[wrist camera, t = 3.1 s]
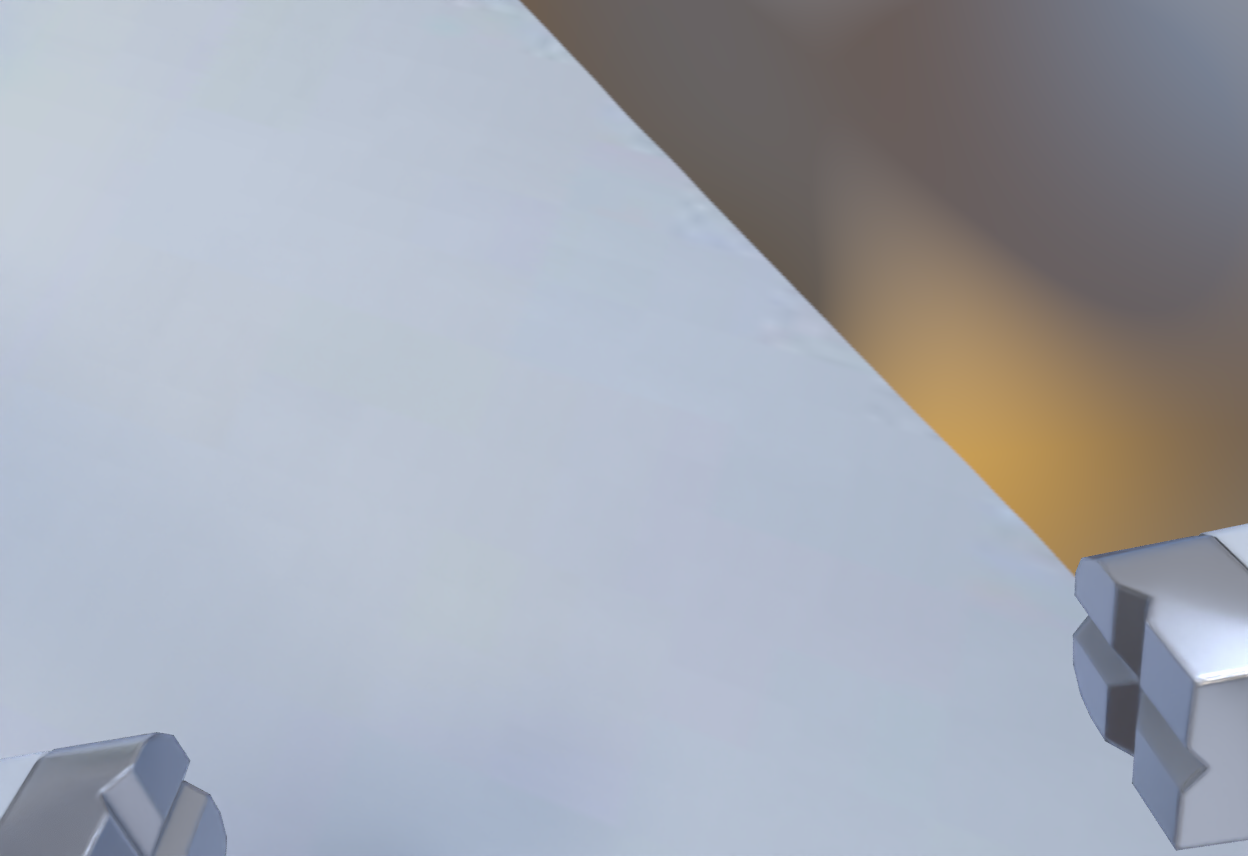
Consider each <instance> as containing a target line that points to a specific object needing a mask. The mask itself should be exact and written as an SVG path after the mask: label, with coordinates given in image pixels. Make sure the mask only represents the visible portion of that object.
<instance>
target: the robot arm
mask: <svg viewBox="0 0 1248 856" xmlns="http://www.w3.org/2000/svg"><path fill="white" fill-rule="evenodd" d="M1074 595H1075V597H1076V598H1077V599H1078V601H1079V602H1080V604H1081V605H1082V606H1083V608H1084V609H1085V611H1086V612H1087V613H1088V616H1087V618H1086V619H1085V620H1084V621H1083V623H1082V624H1081V625H1080V626H1079V628H1078V629H1077V630H1076V631H1075V633H1074V634H1073V666H1074V670H1075V674H1076V678H1077V682H1078V686H1079V691H1080V695H1081V697H1082V699H1083V701H1084V704H1085V706H1086V708H1087V710H1088V713H1089V715H1090V717H1091V719H1092V721H1093V722H1094V724H1095V725H1096V727H1097V729H1098V730H1099V732H1100V733H1101V735H1102V737H1103V738H1104V740H1105V741H1106V742H1108V743H1110V744H1111V745H1113V746H1115V747H1117V748H1119V749H1121V750H1122V751H1124V752H1126V753H1128V754H1130V755H1132V756H1133V757H1134V763H1133V778H1132V784H1133V785H1134V787H1135V788H1136V790H1137V791H1138V793H1139V794H1140V796H1141V798H1142V799H1143V801H1144V802H1145V804H1146V805H1147V807H1148V808H1149V810H1150V811H1151V813H1152V814H1153V816H1154V818H1155V819H1156V821H1157V822H1158V824H1159V825H1160V827H1161V828H1162V830H1163V831H1164V833H1165V834H1166V836H1167V837H1168V839H1169V841H1170V842H1171V844H1172V845H1173V847H1174V848H1175V850H1183V849H1190V848H1197V847H1203V846H1210V845H1217V844H1224V843H1231V842H1238V841H1245V840H1248V524H1244V525H1239V526H1234V527H1229V528H1225V529H1220V530H1215V531H1210V532H1205V533H1201V534H1200V535H1199V536H1191V537H1186V538H1181V539H1176V540H1171V541H1165V542H1160V543H1155V544H1150V545H1145V546H1140V547H1135V548H1130V549H1125V550H1119V551H1114V552H1109V553H1104V554H1099V555H1094V556H1089V557H1084V558H1081V561H1080V563H1079V565H1078V568H1077V570H1076V574H1075V593H1074ZM189 763H190V759H189V758H188V756H187V755H186V753H185V752H184V750H183V749H182V747H181V746H180V744H179V743H178V741H177V740H176V738H175V737H174V735H170V734H164V733H158V732H156V733H150V734H143V735H137V736H131V737H125V738H119V739H113V740H107V741H101V742H95V743H89V744H82V745H76V746H70V747H64V748H58V749H54V750H52V751H48V752H41V753H34V754H28V755H22V756H16V757H10V758H4V759H0V856H226V844H227V836H226V832H225V828H224V824H223V821H222V817H221V813H220V811H219V809H218V808H217V806H216V804H215V802H214V801H213V799H212V797H211V795H210V794H208V793H207V792H205V791H203V790H201V789H199V788H197V787H195V786H194V785H192V784H190V783H188V782H186V781H184V778H185V775H186V772H187V769H188V766H189Z"/></svg>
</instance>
